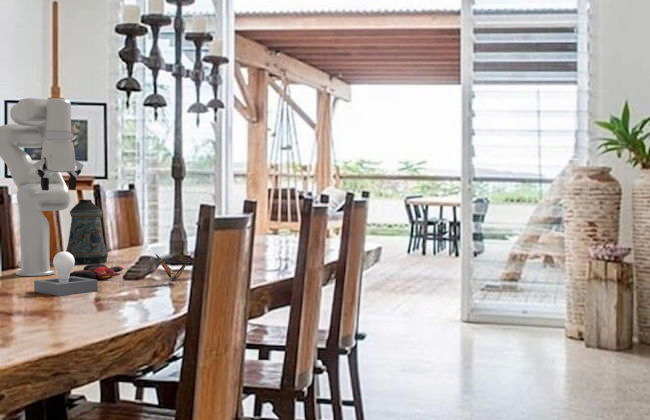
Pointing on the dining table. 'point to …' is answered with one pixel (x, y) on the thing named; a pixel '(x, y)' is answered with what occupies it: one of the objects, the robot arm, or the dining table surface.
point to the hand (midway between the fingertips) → (58, 190)
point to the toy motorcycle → (97, 271)
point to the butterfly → (169, 271)
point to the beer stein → (86, 234)
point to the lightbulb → (63, 265)
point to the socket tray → (65, 286)
